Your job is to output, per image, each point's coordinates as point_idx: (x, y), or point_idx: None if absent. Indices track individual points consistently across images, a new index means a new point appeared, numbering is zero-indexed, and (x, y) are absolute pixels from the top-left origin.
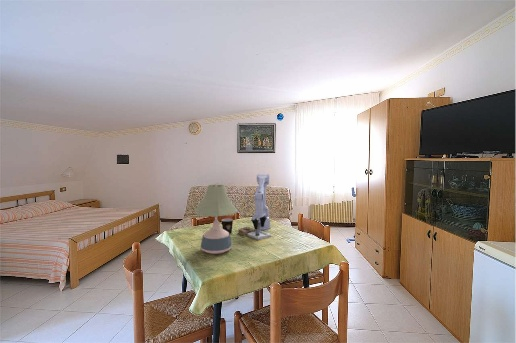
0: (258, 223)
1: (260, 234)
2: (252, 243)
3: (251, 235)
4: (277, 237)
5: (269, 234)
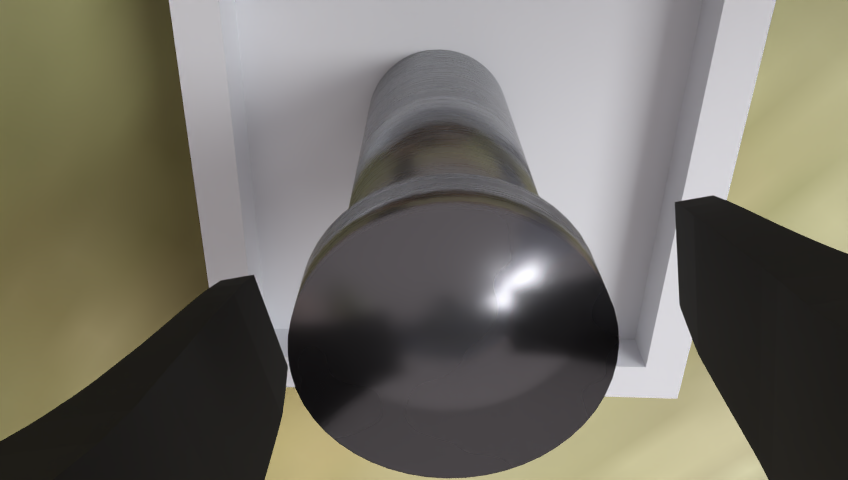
0: (407, 455)
1: (558, 123)
2: (20, 419)
3: (191, 119)
4: (722, 467)
5: (638, 395)
